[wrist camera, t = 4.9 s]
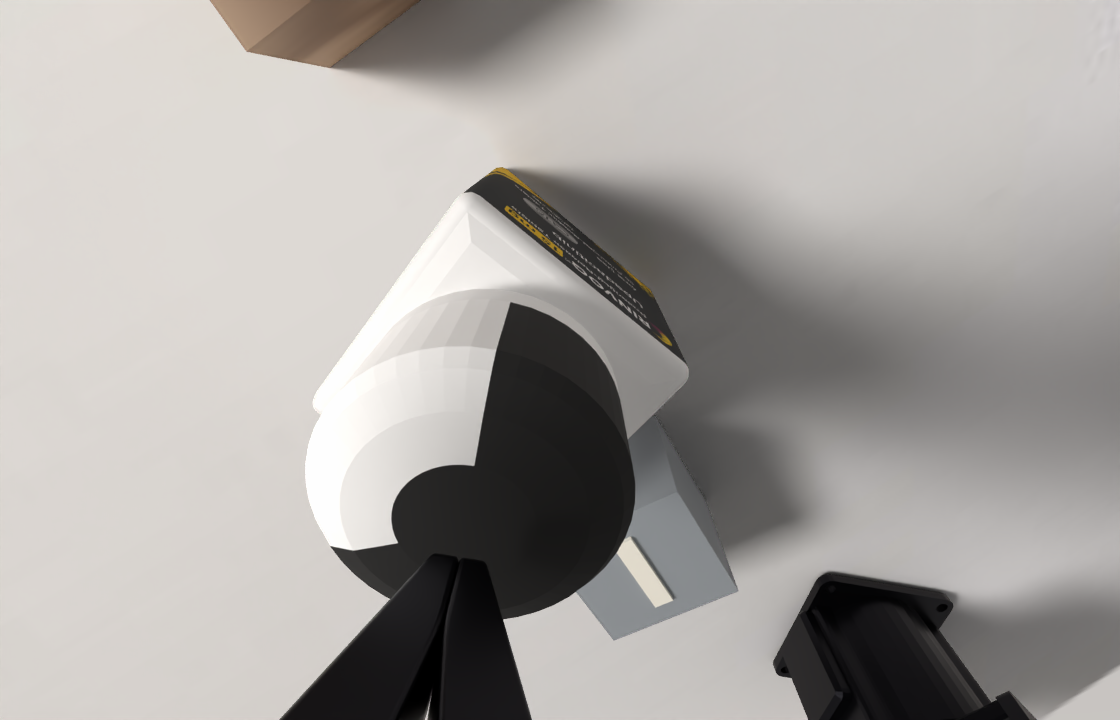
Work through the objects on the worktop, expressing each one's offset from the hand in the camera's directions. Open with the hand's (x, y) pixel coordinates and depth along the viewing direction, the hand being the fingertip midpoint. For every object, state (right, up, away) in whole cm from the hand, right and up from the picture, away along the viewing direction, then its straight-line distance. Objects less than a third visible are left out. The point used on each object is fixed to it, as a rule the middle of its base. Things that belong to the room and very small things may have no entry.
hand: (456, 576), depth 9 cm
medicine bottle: (0, +5, +12) cm, 13 cm away
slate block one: (+5, -2, +15) cm, 16 cm away
